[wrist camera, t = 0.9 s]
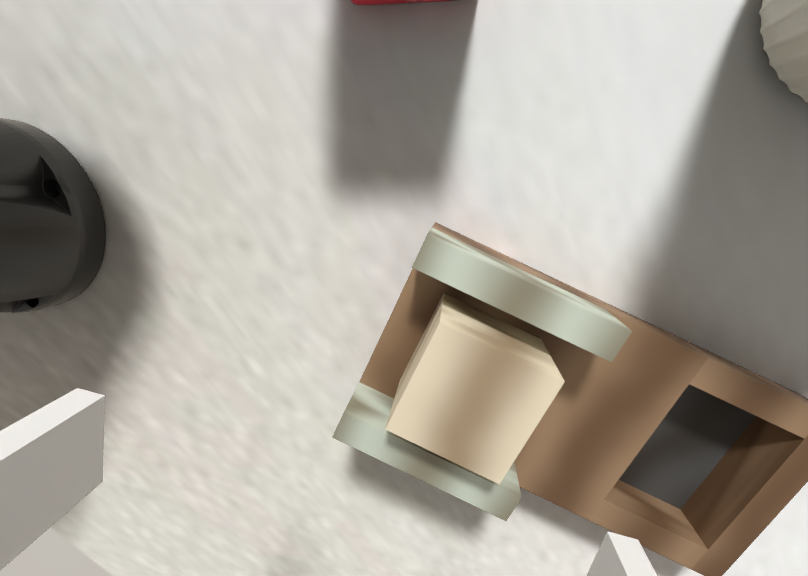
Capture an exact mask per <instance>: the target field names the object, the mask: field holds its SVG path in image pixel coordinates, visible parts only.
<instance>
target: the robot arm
mask: <svg viewBox="0 0 808 576" xmlns="http://www.w3.org/2000/svg"><path fill="white" fill-rule="evenodd" d="M104 246H105V226H104V219H103V213H102V209H101V206H100V202H99V199H98V197H97V194H96V192H95V189H94V187H93V185H92V183H91V181H90V179H89V177H88V176H87V174H86V172H85V171H84V169H83V168H82V166H81V165H80V164H79V162H78V161H77V160H76V159H75V158H74V156H73V155H72V154H71V153H70V152H69V151H68V150H67V149H66V148H65V147H64V146H63V145H62V144H61V143H59V142H58V141H57V140H56V139H54V138H53V137H51V136H50V135H49V134H47V133H45V132H44V131H42V130H40V129H38V128H36V127H34V126H32V125H29V124H26V123H23V122H19V121H15V120H9V119H3V118H0V312H28V311H34V310H39V309H42V308H46V307H49V306H53V305H56V304H60V303H63V302H66V301H68V300H70V299H72V298H74V297H76V296H77V295H79V294H80V293H81V292H83V291H84V290H85V289H86V288H87V287H88V285H89V284H90V283H91V282H92V280H93V279H94V277H95V275H96V274H97V271H98V269H99V267H100V264H101V261H102V258H103V253H104ZM104 415H105V395H102V394H98V393H94V392H91V391H87V390H83V389H79V388H76V389H75V390H73V391H71V392H69V393H67V394H66V395H64V396H62V397H60V398H58V399H57V400H55V401H53V402H51V403H49V404H48V405H46V406H44V407H42V408H40V409H39V410H37V411H35V412H33V413H32V414H30V415H28V416H26V417H24V418H23V419H21V420H19V421H17V422H15V423H14V424H12V425H10V426H8V427H6V428H5V429H3V430H1V431H0V570H1V569H3V568H4V567H5V566H6V565H7V564H8V563H10V562H11V561H12V560H13V559H14V558H15V557H16V556H18V555H19V554H20V553H21V552H22V551H23V550H24V549H26V548H27V547H28V546H29V545H30V544H31V543H33V541H35V540H36V539H37V538H38V537H39V536H40V535H42V534H43V533H44V532H45V531H46V530H47V529H49V528H50V527H51V526H52V525H53V524H54V523H55V522H57V521H58V520H59V519H60V518H61V517H62V516H64V515H65V514H66V513H67V512H68V511H69V510H70V509H72V508H73V507H74V506H75V505H76V504H77V503H78V502H80V501H81V500H82V499H83V498H84V497H85V496H87V495H88V494H89V493H90V492H91V491H92V490H93V489H95V488H96V487H97V486H98V485H99V484H100V483H101V482H102V480H103V448H104ZM587 576H657V574H656V572H655V570H654V569H653V567H652V565H651V563H650V561H649V559H648V557H647V555H646V554H645V552H644V550H643V548H642V546H641V544H640V542H639V540H638V539H634V538H630V537H627V536H623V535H619V534H616V533H612V532H608V531H607V533H606V535H605V537H604V539H603V541H602V543H601V546H600V548H599V550H598V552H597V554H596V556H595V559H594V561H593V563H592V565H591V567H590V569H589V572H588V574H587Z"/></svg>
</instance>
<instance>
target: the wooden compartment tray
mask: <svg viewBox="0 0 808 576" xmlns="http://www.w3.org/2000/svg"><path fill="white" fill-rule="evenodd" d="M412 268H413V269H412V271H411V273H410V276H409V278H408V280H407V282H406V284H405V286H404V288H403V290H402V293H401V295H400V297H399V299H398V301H397V303H396V305H395V307H394V310H393V312H392V314H391V316H390V318H389V320H388V322H387V324H386V327H385V329H384V331H383V333H382V335H381V337H380V339H379V341H378V344H377V346H376V348H375V350H374V352H373V354H372V356H371V358H370V361H369V363H368V365H367V367H366V369H365V371H364V373H363V375H362V378H361V380H360V382H359V384H358V386H357V388H356V390H355V392H354V394H353V396H352V398H351V400H350V402H349V403H348V405H347V407H346V409H345V411H344V413H343V416H342V418H341V420H340V422H339V424H338V426H337V428H336V430H335V433H334V435H333V438H335V439H337V440H339V441H341V442H343V443H345V444H347V445H349V446H351V447H353V448H355V449H358V450H360V451H362V452H364V453H366V454H368V455H370V456H372V457H374V458H376V459H378V460H380V461H382V462H384V463H386V464H389V465H391V466H393V467H395V468H397V469H399V470H401V471H403V472H405V473H407V474H409V475H411V476H413V477H415V478H418V479H420V480H422V481H424V482H426V483H428V484H430V485H432V486H434V487H436V488H438V489H440V490H442V491H444V492H447V493H449V494H451V495H453V496H455V497H457V498H459V499H461V500H463V501H465V502H467V503H469V504H471V505H473V506H476V507H478V508H480V509H482V510H484V511H486V512H488V513H490V514H492V515H494V516H496V517H498V518H500V519H502V520H505V521H507V519H508V518H509V516H510V515H511V513H512V512H513V510H514V509H515V507H516V506H517V504H518V503H519V501H520V500H521V498H522V496H521V491H520V487H521V488H523V489H525V490H527V491H529V492H531V493H533V494H536V495H538V496H540V497H542V498H544V499H546V500H548V501H550V502H552V503H554V504H556V505H558V506H560V507H563V508H565V509H567V510H569V511H571V512H573V513H575V514H577V515H579V516H581V517H583V518H585V519H587V520H590V521H592V522H594V523H596V524H598V525H600V526H602V527H604V528H606V529H608V530H610V531H612V532H615V533H617V534H619V535H623V536H627V537H630V538H634V539H638V540H639V542H640V544H641V545H642V546H644V547H646V548H648V549H650V550H652V551H654V552H656V553H658V554H660V555H662V556H664V557H666V558H669V559H671V560H673V561H675V562H677V563H679V564H681V565H683V566H685V567H687V568H689V569H691V570H693V571H696V572H698V573H700V574H702V575H704V576H722V575H723V574H724V573H725V572H726V571H727V570H728V569H729V568H730V567H731V565H732V564H733V563H734V562H735V561H736V560H737V559H738V558H739V557H740V555H741V554H742V553H743V552H744V551H745V550H746V549H747V548H748V547H749V546H750V544H751V543H752V542H753V541H754V540H755V539H756V538H757V537H758V536H759V535H760V533H761V532H762V531H763V530H764V529H765V528H766V527H767V526H768V525H769V524H770V522H771V521H772V520H773V519H774V518H775V517H776V516H777V515H778V514H779V512H780V511H781V510H782V509H783V508H784V507H785V506H786V505H787V504H788V503H789V501H790V500H791V499H792V498H793V497H794V496H795V495H796V494H797V493H798V492H799V490H800V489H801V488H802V487H803V486H804V485H805V484H806V483H807V482H808V399H807V398H806V397H804V396H802V395H800V394H798V393H796V392H793V391H791V390H789V389H787V388H785V387H783V386H781V385H779V384H777V383H774V382H772V381H770V380H768V379H766V378H764V377H762V376H760V375H757V374H755V373H753V372H751V371H749V370H747V369H745V368H743V367H741V366H738V365H736V364H734V363H732V362H730V361H728V360H726V359H724V358H722V357H719V356H717V355H715V354H713V353H711V352H709V351H707V350H705V349H702V348H700V347H698V346H696V345H694V344H692V343H690V342H688V341H686V340H683V339H681V338H679V337H677V336H675V335H673V334H671V333H669V332H666V331H664V330H662V329H660V328H658V327H656V326H654V325H652V324H650V323H647V322H645V321H643V320H641V319H639V318H637V317H635V316H633V315H630V314H628V313H626V312H624V311H622V310H620V309H618V308H616V307H614V306H611V305H609V304H607V303H605V302H603V301H601V300H599V299H597V298H594V297H592V296H590V295H588V294H586V293H584V292H582V291H580V290H578V289H575V288H573V287H571V286H569V285H567V284H565V283H563V282H561V281H558V280H556V279H554V278H552V277H550V276H548V275H546V274H544V273H542V272H539V271H537V270H535V269H533V268H531V267H529V266H527V265H525V264H523V263H520V262H518V261H516V260H514V259H512V258H510V257H508V256H506V255H503V254H501V253H499V252H497V251H495V250H493V249H491V248H489V247H487V246H484V245H482V244H480V243H478V242H476V241H474V240H472V239H470V238H467V237H465V236H463V235H461V234H459V233H457V232H455V231H453V230H451V229H448V228H446V227H444V226H442V225H440V224H438V223H436V222H435V224H434V225H433V227H432V228H431V230H430V231H429V233H428V234H427V237H426V239H425V241H424V243H423V245H422V247H421V249H420V252H419V254H418V256H417V258H416V260H415V262H414V264H413V266H412ZM443 293H445V294H447V295H449V296H451V297H453V298H455V299H458V300H460V301H462V302H464V303H466V304H468V305H470V306H472V307H474V308H476V309H479V310H481V311H483V312H485V313H487V314H489V315H491V316H493V317H495V318H498V319H500V320H502V321H504V322H506V323H508V324H510V325H512V326H514V327H516V328H519V329H521V330H523V331H525V332H527V333H529V334H531V335H533V336H535V337H538V338H540V339H542V341H543V343H544V345H545V347H546V348H547V350H548V352H549V354H550V356H551V358H552V359H553V361H554V363H555V365H556V367H557V368H558V370H559V372H560V374H561V376H562V377H563V379H564V381H565V382H564V384H563V385H562V387H561V389H560V390H559V392H558V393H557V395H556V396H555V398H554V400H553V401H552V403H551V404H550V406H549V407H548V409H547V411H546V412H545V414H544V415H543V417H542V418H541V420H540V422H539V423H538V425H537V426H536V428H535V429H534V431H533V433H532V434H531V436H530V437H529V439H528V440H527V442H526V444H525V445H524V447H523V448H522V450H521V451H520V453H519V455H518V456H517V458H516V459H515V461H514V462H513V464H512V465H511V467H510V469H509V470H508V472H507V473H506V475H505V476H504V478H503V480H502V481H501V483H500V484H498V483H496V482H493V481H491V480H489V479H487V478H485V477H483V476H481V475H479V474H477V473H475V472H473V471H471V470H469V469H466V468H464V467H462V466H460V465H458V464H456V463H454V462H452V461H450V460H448V459H446V458H444V457H442V456H439V455H437V454H435V453H433V452H431V451H429V450H427V449H425V448H423V447H421V446H419V445H417V444H415V443H412V442H410V441H408V440H406V439H404V438H402V437H400V436H398V435H396V434H394V433H392V432H390V431H388V430H385V428H386V425H387V421H388V418H389V415H390V411H391V408H392V405H393V401H394V398H395V395H396V392H397V388H398V385H399V382H400V379H401V377H402V375H403V373H404V371H405V369H406V367H407V365H408V363H409V361H410V359H411V357H412V355H413V353H414V351H415V349H416V347H417V345H418V343H419V341H420V339H421V337H422V335H423V333H424V331H425V329H426V327H427V325H428V323H429V321H430V319H431V317H432V315H433V313H434V311H435V309H436V307H437V305H438V303H439V301H440V299H441V297H442V295H443Z"/></svg>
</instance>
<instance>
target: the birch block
mask: <svg viewBox="0 0 808 576" xmlns="http://www.w3.org/2000/svg"><path fill="white" fill-rule="evenodd" d="M564 382H565V381H564V379H563V377H562V376H561V374H560V372H559V370H558V368H557V367H556V365H555V363H554V361H553V359H552V358H551V356H550V354H549V352H548V350H547V348H546V347H545V345H544V343H543V341H542V339H540V338H538V337H535V336H533V335H531V334H529V333H527V332H525V331H523V330H521V329H519V328H516V327H514V326H512V325H510V324H508V323H506V322H504V321H502V320H500V319H498V318H495V317H493V316H491V315H489V314H487V313H485V312H483V311H481V310H479V309H476V308H474V307H472V306H470V305H468V304H466V303H464V302H462V301H460V300H458V299H455V298H453V297H451V296H449V295H447V294H445V293H443V295H442V297H441V299H440V301H439V303H438V305H437V307H436V309H435V311H434V313H433V315H432V317H431V319H430V321H429V323H428V325H427V327H426V329H425V331H424V333H423V335H422V337H421V339H420V341H419V343H418V345H417V347H416V349H415V351H414V353H413V355H412V357H411V359H410V361H409V363H408V365H407V367H406V369H405V371H404V373H403V375H402V377H401V379H400V382H399V385H398V388H397V392H396V395H395V398H394V401H393V405H392V408H391V411H390V415H389V418H388V421H387V425H386V428H385V430H388V431H390V432H392V433H394V434H396V435H398V436H400V437H402V438H404V439H406V440H408V441H410V442H412V443H415V444H417V445H419V446H421V447H423V448H425V449H427V450H429V451H431V452H433V453H435V454H437V455H439V456H442V457H444V458H446V459H448V460H450V461H452V462H454V463H456V464H458V465H460V466H462V467H464V468H466V469H469V470H471V471H473V472H475V473H477V474H479V475H481V476H483V477H485V478H487V479H489V480H491V481H493V482H496V483H498V484H500V483H501V481H502V480H503V478H504V476H505V475H506V473H507V472H508V470H509V469H510V467H511V465H512V464H513V462H514V461H515V459H516V458H517V456H518V455H519V453H520V451H521V450H522V448H523V447H524V445H525V444H526V442H527V440H528V439H529V437H530V436H531V434H532V433H533V431H534V429H535V428H536V426H537V425H538V423H539V422H540V420H541V418H542V417H543V415H544V414H545V412H546V411H547V409H548V407H549V406H550V404H551V403H552V401H553V400H554V398H555V396H556V395H557V393H558V392H559V390H560V389H561V387H562V385H563V384H564Z"/></svg>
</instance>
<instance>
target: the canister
mask: <svg viewBox="0 0 808 576" xmlns="http://www.w3.org/2000/svg"><path fill="white" fill-rule="evenodd" d="M759 15H760V16H761V29H760V34H761V35H762V37H763V42H764V47H763V50H764V51H766V53H767V55H768V57H769V61H770V62H769V65H770V66H771V67H773V68H774V69H775V71H776V73H777V75H778V79H779V80H780V81H783V82H784V83H785V84H786V85H787V86H788V87H789V90H790V91H791V92H792V93H794V94H798V95H799V96H800V97H802V99H803V100H804V101H805V102H807V103H808V0H762V6H761V9H760V11H759Z"/></svg>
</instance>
